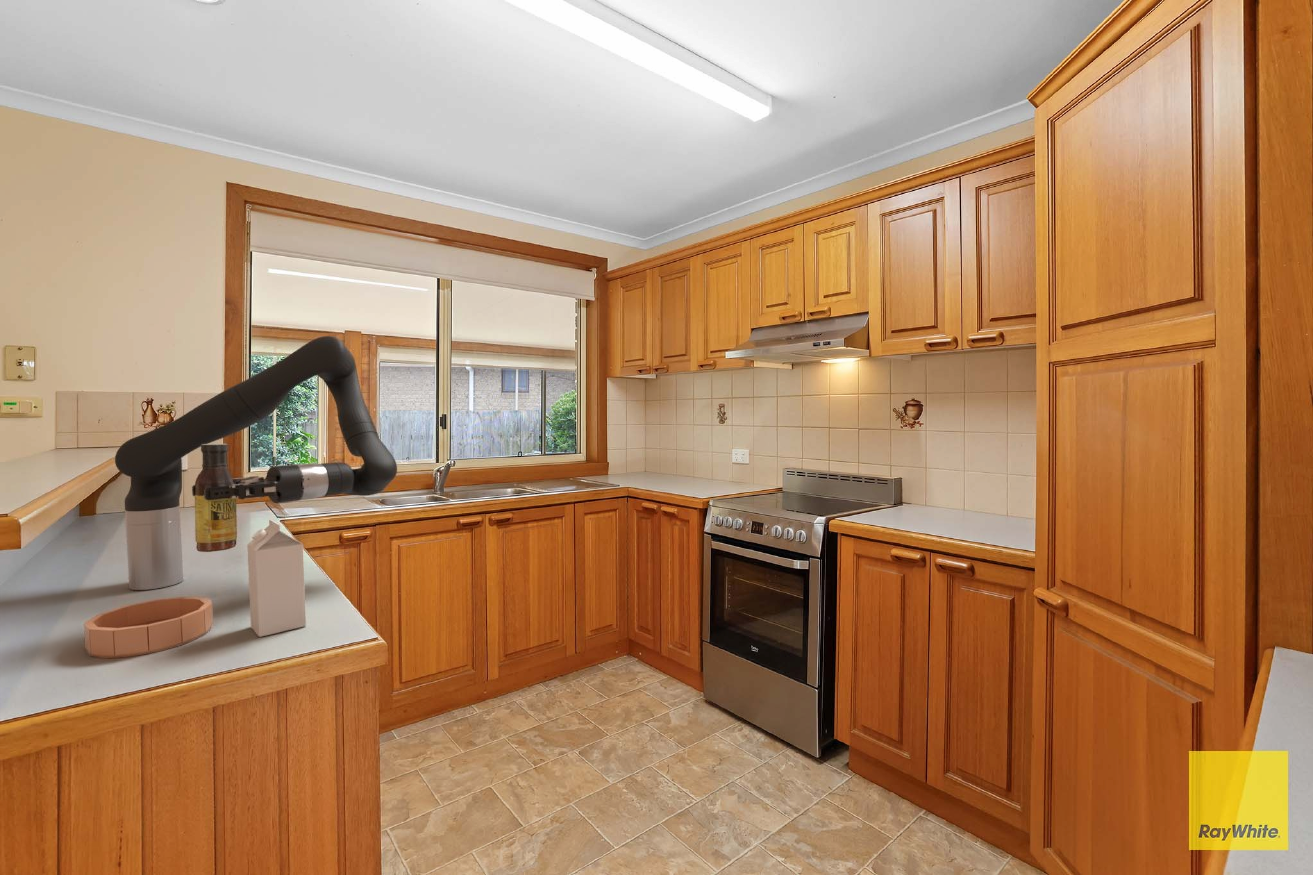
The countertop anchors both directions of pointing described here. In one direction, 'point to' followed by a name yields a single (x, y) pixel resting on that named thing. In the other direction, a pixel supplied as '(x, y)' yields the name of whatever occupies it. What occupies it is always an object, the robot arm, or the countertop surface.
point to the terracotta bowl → (147, 627)
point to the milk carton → (276, 581)
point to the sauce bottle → (214, 503)
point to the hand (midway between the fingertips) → (199, 492)
